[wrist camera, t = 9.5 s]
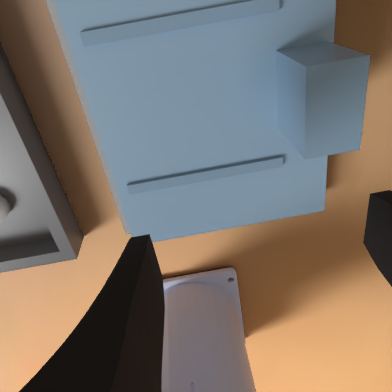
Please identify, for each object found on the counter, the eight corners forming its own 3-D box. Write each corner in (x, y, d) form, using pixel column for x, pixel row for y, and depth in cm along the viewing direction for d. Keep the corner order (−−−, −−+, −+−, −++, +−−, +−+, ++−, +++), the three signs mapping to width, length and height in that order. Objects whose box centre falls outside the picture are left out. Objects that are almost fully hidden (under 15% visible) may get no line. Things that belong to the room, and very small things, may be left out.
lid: (317, 201, 23) (354, 252, 18) (136, 234, 23) (130, 292, 18) (331, -126, 14) (407, -176, 10) (37, -71, 14) (-17, -96, 10)
